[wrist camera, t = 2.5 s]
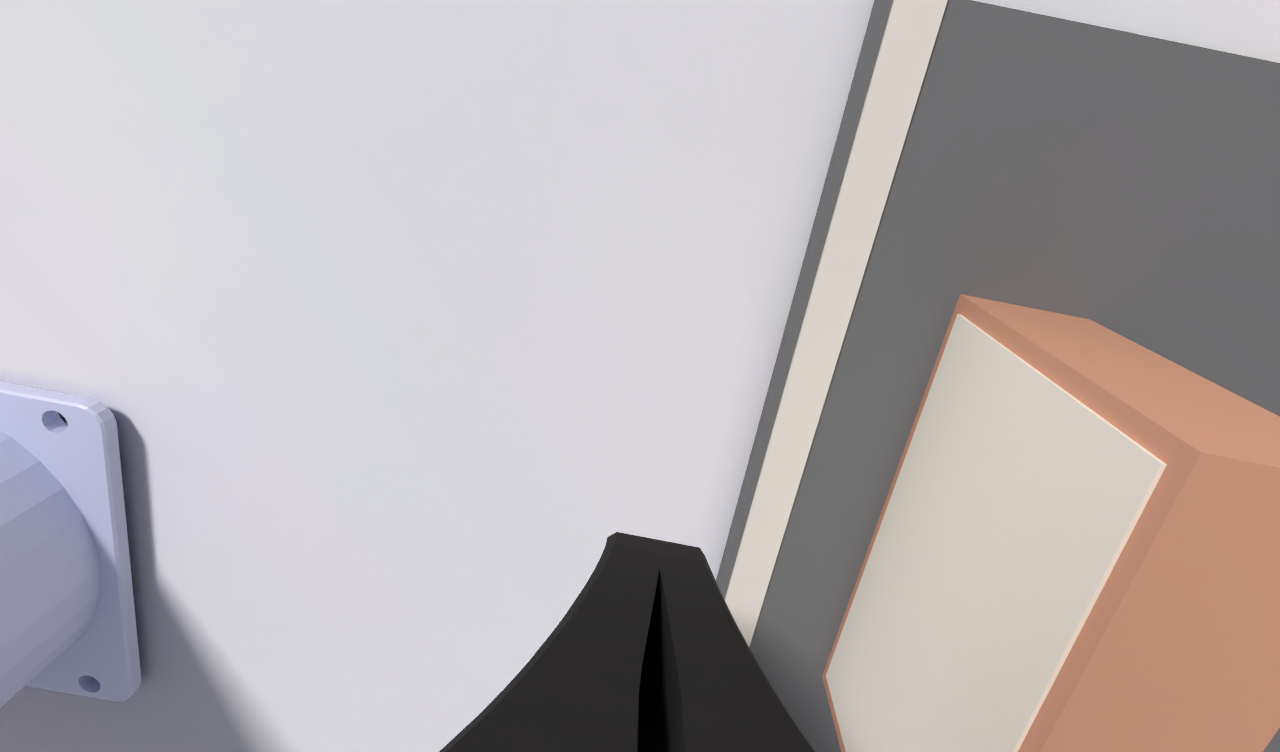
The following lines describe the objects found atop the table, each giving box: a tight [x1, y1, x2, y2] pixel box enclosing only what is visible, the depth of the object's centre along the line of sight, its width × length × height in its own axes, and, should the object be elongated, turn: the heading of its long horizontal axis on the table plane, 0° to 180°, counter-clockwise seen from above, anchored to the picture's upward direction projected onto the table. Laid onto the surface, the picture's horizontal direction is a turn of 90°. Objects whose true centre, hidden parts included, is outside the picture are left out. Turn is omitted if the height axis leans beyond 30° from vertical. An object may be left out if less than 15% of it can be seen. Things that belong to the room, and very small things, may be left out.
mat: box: [716, 0, 1280, 752], centre depth 14 cm, size 20×18×1 cm
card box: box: [822, 294, 1280, 752], centre depth 11 cm, size 2×9×6 cm, turn 169°
